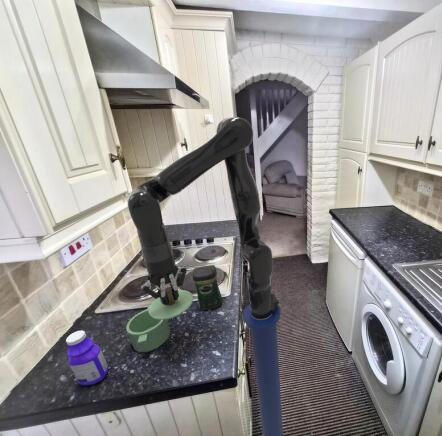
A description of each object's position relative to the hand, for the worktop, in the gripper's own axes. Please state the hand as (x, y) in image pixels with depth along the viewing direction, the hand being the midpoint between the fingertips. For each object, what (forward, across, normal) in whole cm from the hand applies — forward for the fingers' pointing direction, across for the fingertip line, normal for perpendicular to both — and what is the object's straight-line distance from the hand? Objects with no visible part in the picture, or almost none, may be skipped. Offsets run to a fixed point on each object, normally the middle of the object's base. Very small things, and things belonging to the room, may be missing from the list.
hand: (171, 301), depth 74 cm
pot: (+20, -5, +12) cm, 24 cm away
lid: (+1, 0, 0) cm, 1 cm away
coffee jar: (+20, +18, +10) cm, 28 cm away
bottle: (+20, -23, +11) cm, 32 cm away
